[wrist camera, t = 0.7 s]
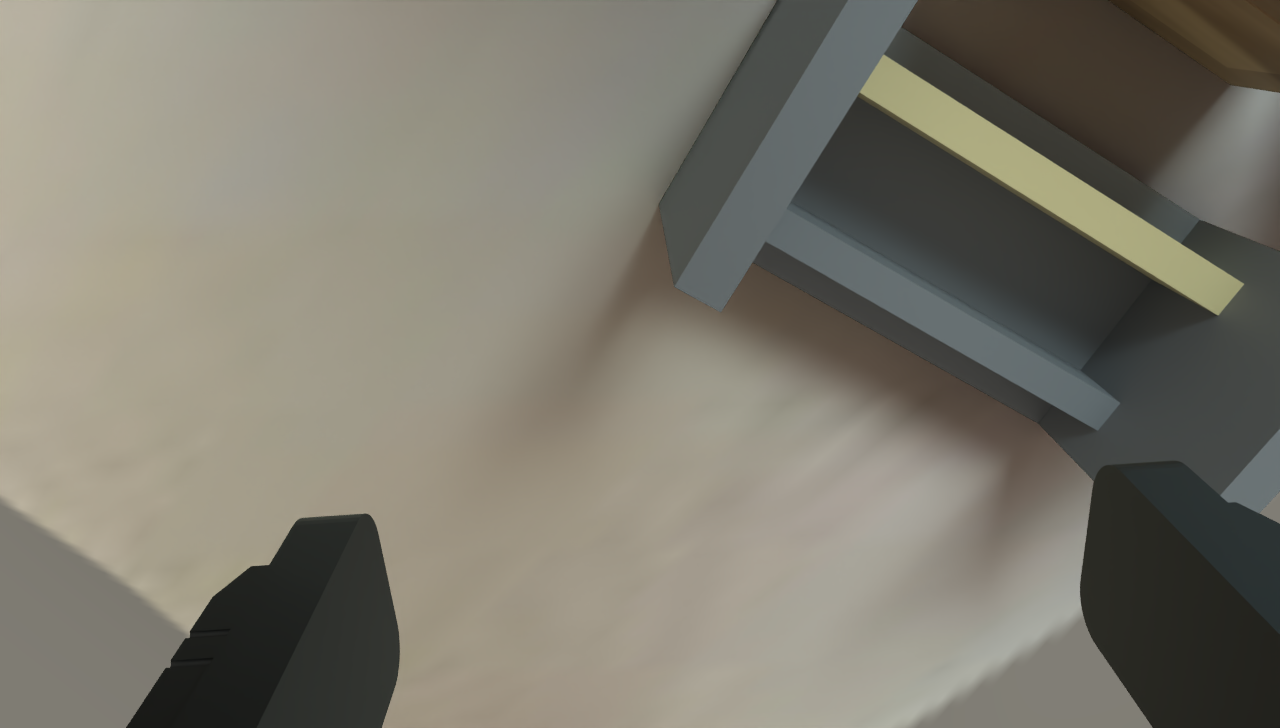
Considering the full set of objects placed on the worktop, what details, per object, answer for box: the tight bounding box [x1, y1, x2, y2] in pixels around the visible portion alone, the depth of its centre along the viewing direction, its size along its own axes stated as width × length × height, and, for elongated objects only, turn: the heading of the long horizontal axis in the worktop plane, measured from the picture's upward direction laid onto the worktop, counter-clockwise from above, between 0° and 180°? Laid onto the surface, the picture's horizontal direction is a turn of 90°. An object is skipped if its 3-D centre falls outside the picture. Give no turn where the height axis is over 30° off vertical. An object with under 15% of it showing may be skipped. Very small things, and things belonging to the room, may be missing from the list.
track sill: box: [659, 0, 1280, 513], centre depth 29 cm, size 9×18×10 cm, turn 60°
